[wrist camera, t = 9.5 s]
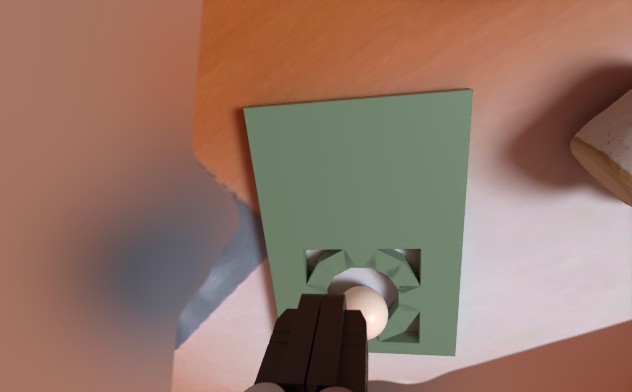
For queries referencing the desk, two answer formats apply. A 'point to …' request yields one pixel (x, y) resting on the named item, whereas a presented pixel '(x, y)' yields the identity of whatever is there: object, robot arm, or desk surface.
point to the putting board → (368, 202)
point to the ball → (368, 308)
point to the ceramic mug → (608, 148)
